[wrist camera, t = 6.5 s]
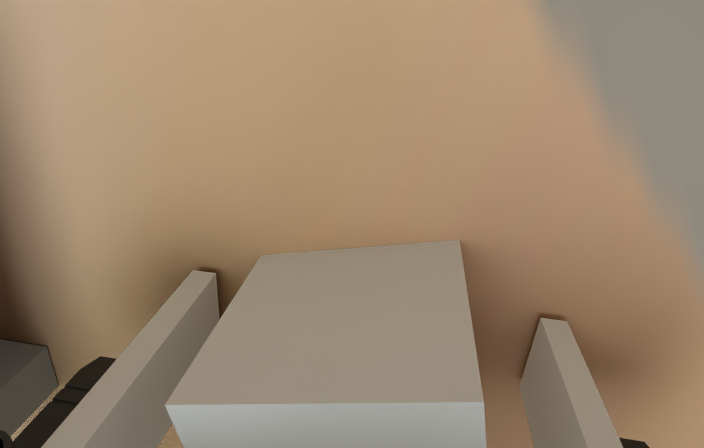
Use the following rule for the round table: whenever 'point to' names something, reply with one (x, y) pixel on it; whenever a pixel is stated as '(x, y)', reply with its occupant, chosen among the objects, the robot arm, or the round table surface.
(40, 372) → the board
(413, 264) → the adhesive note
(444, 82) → the round table surface
